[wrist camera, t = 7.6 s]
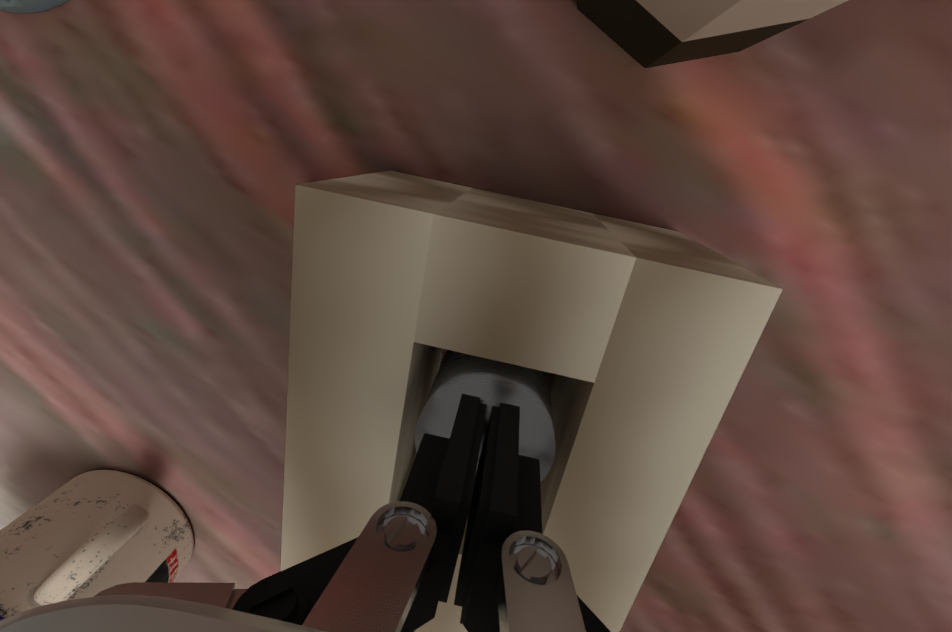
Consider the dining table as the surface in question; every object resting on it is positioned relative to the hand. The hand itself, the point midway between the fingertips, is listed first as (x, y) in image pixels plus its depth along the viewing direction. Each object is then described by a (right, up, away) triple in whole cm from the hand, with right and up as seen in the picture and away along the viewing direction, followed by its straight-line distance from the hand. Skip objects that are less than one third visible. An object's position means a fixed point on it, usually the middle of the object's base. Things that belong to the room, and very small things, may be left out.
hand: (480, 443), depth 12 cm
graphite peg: (+1, +3, +8) cm, 8 cm away
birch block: (0, -4, +10) cm, 11 cm away
